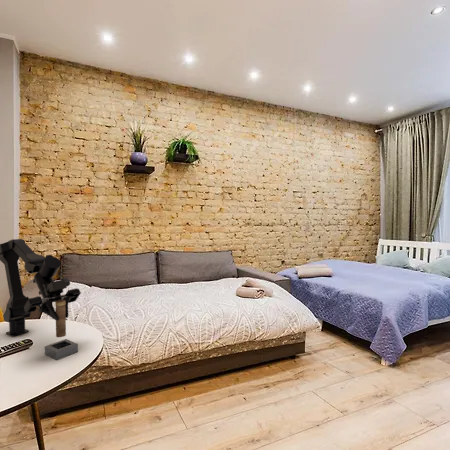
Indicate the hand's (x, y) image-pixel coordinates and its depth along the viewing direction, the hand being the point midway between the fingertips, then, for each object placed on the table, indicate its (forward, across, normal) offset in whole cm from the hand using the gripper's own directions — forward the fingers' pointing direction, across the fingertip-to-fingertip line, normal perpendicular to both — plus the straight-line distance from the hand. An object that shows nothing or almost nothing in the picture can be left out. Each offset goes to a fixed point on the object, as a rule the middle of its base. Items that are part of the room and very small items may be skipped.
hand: (62, 318), depth 114 cm
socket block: (+8, 0, +10) cm, 13 cm away
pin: (+4, 0, +6) cm, 7 cm away
